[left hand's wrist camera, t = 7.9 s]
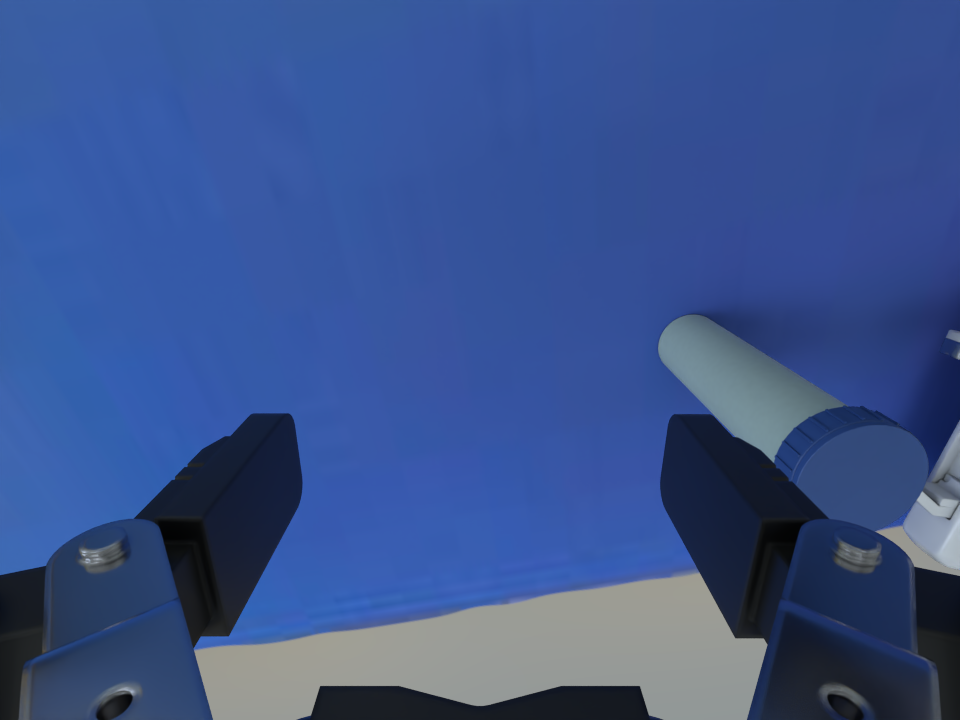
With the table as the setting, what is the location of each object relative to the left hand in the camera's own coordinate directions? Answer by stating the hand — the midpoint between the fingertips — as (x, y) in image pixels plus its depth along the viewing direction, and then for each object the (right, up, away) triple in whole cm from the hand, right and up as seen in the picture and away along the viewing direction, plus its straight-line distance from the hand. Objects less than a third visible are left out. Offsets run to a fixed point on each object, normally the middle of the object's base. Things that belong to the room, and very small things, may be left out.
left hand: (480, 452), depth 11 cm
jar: (+15, +3, +27) cm, 31 cm away
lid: (+16, -3, +10) cm, 19 cm away
